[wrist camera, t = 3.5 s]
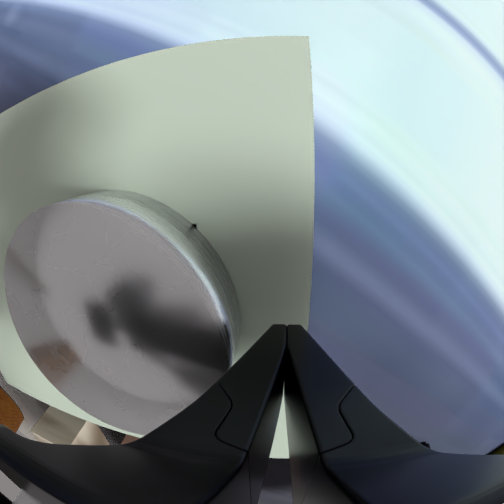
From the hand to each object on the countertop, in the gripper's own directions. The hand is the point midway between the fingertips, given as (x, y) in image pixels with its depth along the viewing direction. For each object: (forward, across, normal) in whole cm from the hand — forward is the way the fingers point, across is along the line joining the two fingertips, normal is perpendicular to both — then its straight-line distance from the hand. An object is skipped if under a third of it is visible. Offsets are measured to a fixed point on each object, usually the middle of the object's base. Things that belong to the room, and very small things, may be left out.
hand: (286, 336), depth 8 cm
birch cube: (+4, +17, +15) cm, 23 cm away
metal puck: (+1, +6, 0) cm, 6 cm away
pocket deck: (+4, +10, 0) cm, 11 cm away
